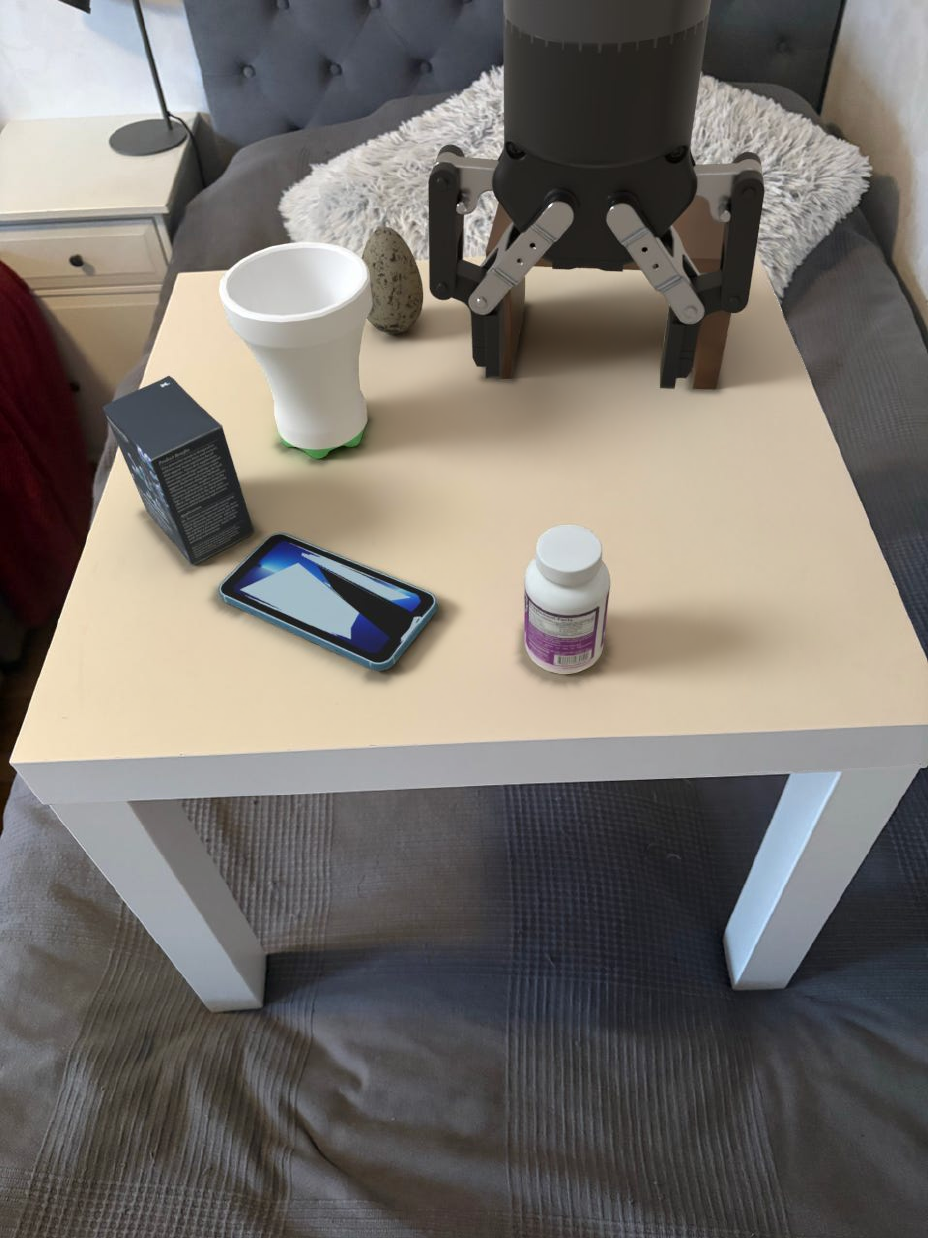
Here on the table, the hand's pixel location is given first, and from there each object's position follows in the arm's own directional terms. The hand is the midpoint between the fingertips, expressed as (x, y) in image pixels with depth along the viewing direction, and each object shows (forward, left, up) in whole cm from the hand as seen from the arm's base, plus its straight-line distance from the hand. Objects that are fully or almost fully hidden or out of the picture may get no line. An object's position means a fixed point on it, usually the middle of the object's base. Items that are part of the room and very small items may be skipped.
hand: (580, 374), depth 46 cm
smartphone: (+17, -2, -22) cm, 28 cm away
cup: (+22, -21, -22) cm, 38 cm away
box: (+29, -9, -22) cm, 37 cm away
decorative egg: (+19, -37, -22) cm, 47 cm away
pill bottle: (0, 0, -22) cm, 22 cm away
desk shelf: (-1, -36, -22) cm, 42 cm away
